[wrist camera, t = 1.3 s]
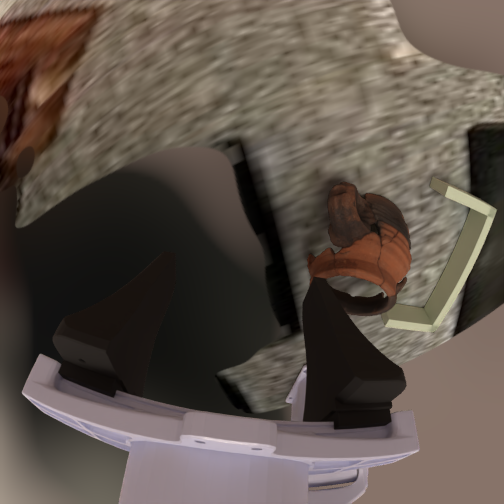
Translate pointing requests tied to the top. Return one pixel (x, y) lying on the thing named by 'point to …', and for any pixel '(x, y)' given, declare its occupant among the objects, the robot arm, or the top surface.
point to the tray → (448, 265)
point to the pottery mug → (364, 248)
